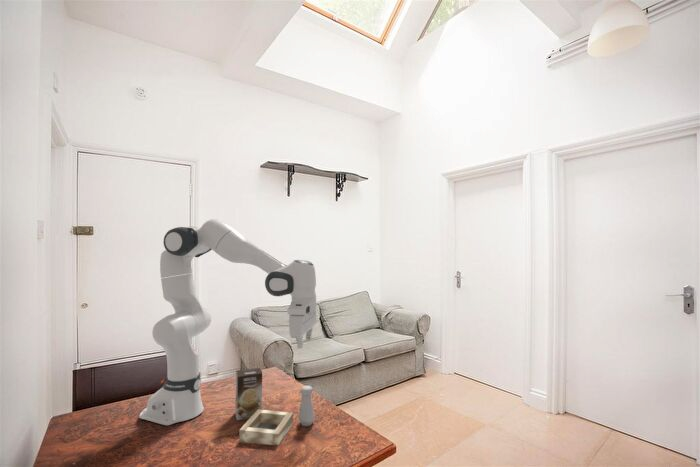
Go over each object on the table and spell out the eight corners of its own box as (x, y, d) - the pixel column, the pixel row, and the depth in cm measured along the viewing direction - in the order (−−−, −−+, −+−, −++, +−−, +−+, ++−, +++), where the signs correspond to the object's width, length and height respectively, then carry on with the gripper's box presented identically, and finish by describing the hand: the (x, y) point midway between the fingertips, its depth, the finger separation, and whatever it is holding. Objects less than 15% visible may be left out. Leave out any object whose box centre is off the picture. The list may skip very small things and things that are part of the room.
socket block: (239, 442, 112) (239, 429, 112) (257, 420, 125) (257, 409, 126) (278, 446, 110) (278, 434, 110) (293, 424, 123) (293, 412, 123)
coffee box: (236, 421, 125) (236, 376, 125) (235, 412, 131) (235, 370, 131) (262, 416, 128) (262, 373, 129) (259, 408, 134) (260, 367, 134)
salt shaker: (311, 428, 120) (311, 391, 120) (296, 427, 121) (296, 390, 121) (316, 420, 126) (316, 384, 126) (301, 418, 127) (301, 383, 127)
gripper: (304, 299, 135) (305, 335, 135) (285, 310, 115) (286, 352, 114) (320, 299, 134) (320, 335, 133) (303, 311, 113) (304, 353, 113)
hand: (304, 343), depth 124 cm, fingers open, 8 cm apart
